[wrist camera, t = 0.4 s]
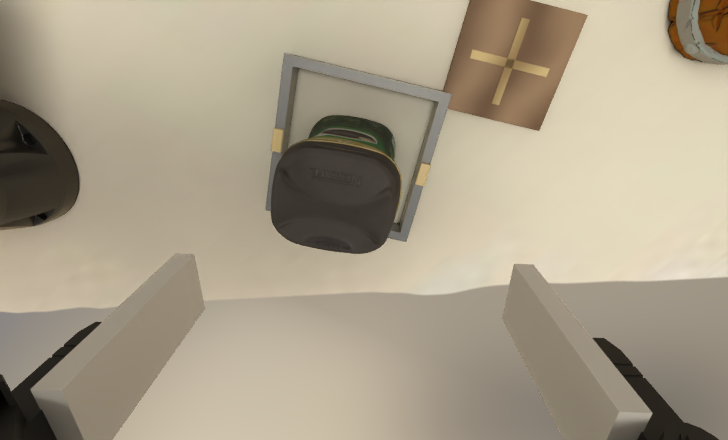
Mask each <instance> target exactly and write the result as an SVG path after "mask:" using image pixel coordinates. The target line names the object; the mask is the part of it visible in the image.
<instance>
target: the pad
mask: <svg viewBox="0 0 728 440" xmlns="http://www.w3.org/2000/svg"><path fill="white" fill-rule="evenodd" d="M587 16H588V15H585V14H581V13H577V12H574V11H570V10H566V9H562V8H558V7H554V6H550V5H546V4H542V3H539V2H535V1H531V0H470V2H469V6H468V9H467V12H466V16H465V19H464V22H463V26H462V29H461V33H460V36H459V39H458V43H457V46H456V49H455V53H454V56H453V59H452V63H451V66H450V70H449V73H448V76H447V80H446V83H445V86H444V90H443V92H446V93H450V94H452V95H451V98H450V101H449V104H448V108H447V109H452V110H456V111H460V112H464V113H468V114H472V115H476V116H480V117H485V118H489V119H493V120H497V121H501V122H505V123H509V124H513V125H517V126H522V127H526V128H530V129H534V130H538V131H539V130H540V128H541V125H542V123H543V120H544V118H545V116H546V113H547V111H548V108H549V106H550V104H551V101H552V99H553V97H554V94H555V92H556V89H557V87H558V85H559V82H560V80H561V77H562V75H563V73H564V70H565V68H566V66H567V63H568V61H569V58H570V56H571V54H572V51H573V49H574V47H575V44H576V42H577V39H578V37H579V35H580V32H581V30H582V27H583V25H584V23H585V20H586V18H587Z"/></svg>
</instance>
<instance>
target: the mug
mask: <svg viewBox="0 0 728 440" xmlns="http://www.w3.org/2000/svg"><path fill="white" fill-rule="evenodd" d="M668 18H669V20H672V21H673V22H672V24H671V25H670V28H669V30H668V32H669V36H670V39H671V41H672V43H673V45H674V47H675V49H676V50H677V51H678V52H680V53H681V54H682V55H683V56H684V57H685V58H688V59H691V60H698V61H700V62H706V63H712V64H728V0H671V2H670V7H669V16H668Z"/></svg>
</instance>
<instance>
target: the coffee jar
mask: <svg viewBox="0 0 728 440" xmlns="http://www.w3.org/2000/svg"><path fill="white" fill-rule="evenodd" d="M394 158H395V141H394V137H393V135H392V133H391V132H390V130H389V129H388V128H387V127H385V126H384V125H382V124H380V123H377V122H374V121H370V120H366V119H362V118H356V117H350V116H327V117H325V118H322V119H321V120H320V121H318V122H317V123H316V125H315V126H314V127H313V129H312V131H311V133H310V135H309V138H308V139H306V140H302V141H300V142H297V143H295V144H293V145H292V146H290V147H289V148H288V149H287V150H286V151H285V152H284V153H283V155H282V157H281V159H280V160H279V162H278V164H277V167H276V170H275V174H274V178H273V184H272V192H271V218H272V223H273V225H274V226H275V228H276V230H277V231H278V232H279V233H280V234H281V235H282V236H283V237H285V238H286V239H287V240H289V241H291V242H293V243H296V244H299V245H303V246H308V247H313V248H317V249H322V250H328V251H335V252H344V253H353V254H362V253H368V252H371V251H374V250H376V249H378V248H379V247H381V246H382V245H383V244H384V243H385V241H386V240H387V238H388V236H389V233H390V231H391V228H392V225H393V221H394V218H395V216H396V213H397V210H398V207H399V203H400V197H401V188H402V180H401V174H400V171H399V169H398V167H397V165H396V164H395V162H394Z"/></svg>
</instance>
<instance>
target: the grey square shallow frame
mask: <svg viewBox="0 0 728 440" xmlns="http://www.w3.org/2000/svg"><path fill="white" fill-rule="evenodd" d="M298 68H301V69H305V70H309V71H314V72H318V73H322V74H326V75H330V76H334V77H338V78H342V79H346V80H351V81H355V82H359V83H363V84H367V85H371V86H375V87H379V88H383V89H388V90H392V91H396V92H400V93H404V94H408V95H412V96H416V97H420V98H425V99H429V100H433V101H435V104H434V107H433V111H432V114H431V118H430V121H429V124H428V128H427V131H426V135H425V138H424V142H423V145H422V148H421V152H420V155H419V159H418V162H417V166H416V169H415V172H414V176H413V179H412V183H411V186H410V190H409V193H408V196H407V200H406V203H405V207H404V210H403V214H402V217H401V220H400V224H396V223H393V225H392V228H391V231H390V233H389V236H388V238H391V239H395V240H400V241H404V242H406V241H407V238H408V235H409V231H410V228H411V225H412V222H413V218H414V215H415V212H416V209H417V205H418V202H419V199H420V195H421V192H422V189H423V186H425V183H426V179H427V176H428V173H429V170H430V167H431V165H430V163H431V160H432V156H433V153H434V150H435V147H436V143H437V140H438V137H439V134H440V130H441V127H442V124H443V121H444V117H445V114H446V111H447V108H448V104H449V101H450V98H451V95H452V94H450V93H446V92H443V91H439V90H435V89H431V88H427V87H422V86H418V85H414V84H410V83H406V82H402V81H398V80H394V79H390V78H386V77H382V76H377V75H373V74H369V73H365V72H361V71H357V70H353V69H349V68H345V67H341V66H337V65H332V64H328V63H324V62H320V61H316V60H312V59H308V58H304V57H300V56H296V55H292V54H286V53H284V58H283V66H282V75H281V83H280V92H279V100H278V109H277V117H276V125H275V128H274V129H273V138H272V146H271V151H272V159H271V168H270V176H269V185H268V193H267V201H266V210H268V211H271V192H272V184H273V178H274V174H275V170H276V167H277V164H278V162H279V160H280V159H281V157H282V155H283V153H284V152H285V151H286V150H287V147H288V140H289V133H290V125H291V118H292V111H293V103H294V96H295V88H296V81H297V74H298Z"/></svg>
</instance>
